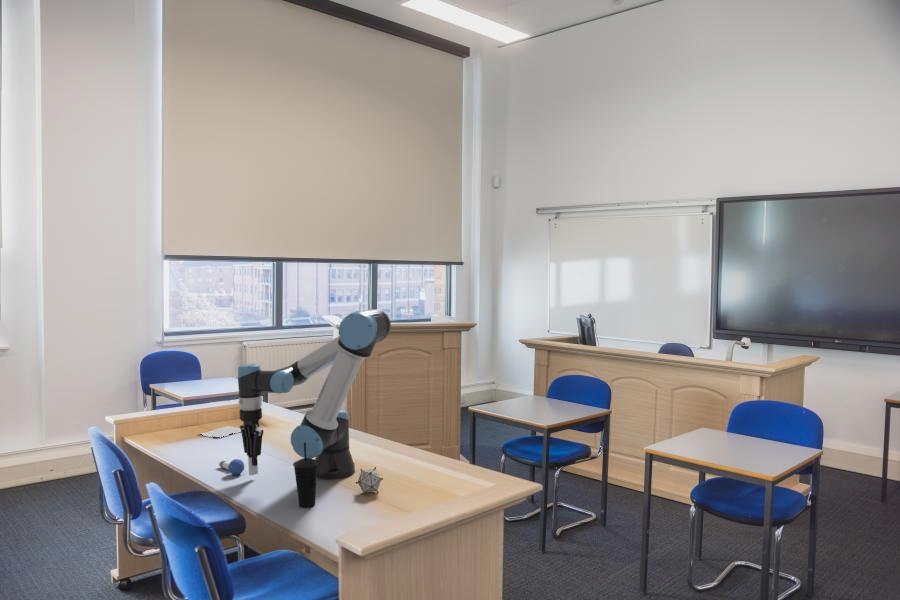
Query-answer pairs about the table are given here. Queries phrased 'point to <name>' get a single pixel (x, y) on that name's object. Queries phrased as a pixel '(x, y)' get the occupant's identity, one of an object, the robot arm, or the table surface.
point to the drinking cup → (306, 480)
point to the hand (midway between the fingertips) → (253, 474)
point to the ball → (236, 467)
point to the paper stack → (222, 431)
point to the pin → (224, 464)
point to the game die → (369, 480)
